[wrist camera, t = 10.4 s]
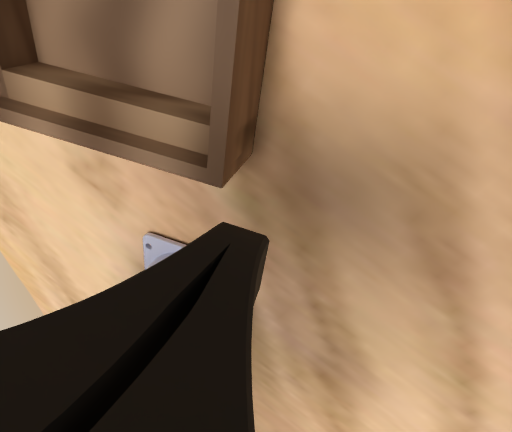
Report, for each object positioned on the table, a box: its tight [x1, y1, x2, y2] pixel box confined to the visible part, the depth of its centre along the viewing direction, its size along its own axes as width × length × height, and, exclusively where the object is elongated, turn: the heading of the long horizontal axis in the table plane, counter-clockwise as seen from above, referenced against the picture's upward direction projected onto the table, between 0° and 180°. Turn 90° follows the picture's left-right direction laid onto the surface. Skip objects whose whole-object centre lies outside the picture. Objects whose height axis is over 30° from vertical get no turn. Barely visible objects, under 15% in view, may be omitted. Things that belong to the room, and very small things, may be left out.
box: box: [0, 0, 274, 188], centre depth 16 cm, size 14×12×4 cm
